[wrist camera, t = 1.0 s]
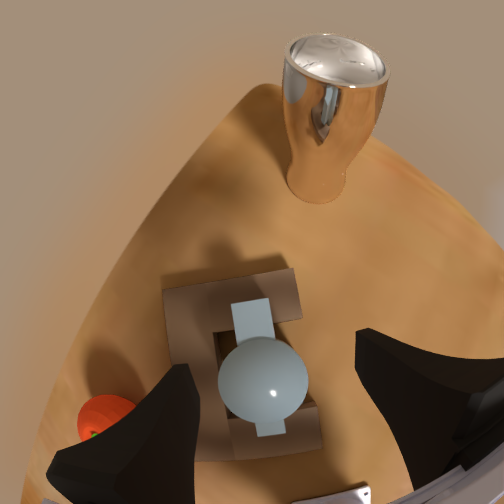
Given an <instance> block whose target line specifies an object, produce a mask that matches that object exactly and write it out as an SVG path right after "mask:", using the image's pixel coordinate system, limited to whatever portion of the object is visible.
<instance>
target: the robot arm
mask: <svg viewBox="0 0 504 504" xmlns="http://www.w3.org/2000/svg"><path fill="white" fill-rule="evenodd" d="M355 370H356V372H357V374H358V376H359V378H360V381H361V383H362V385H363V386H364V388H365V389H366V391H367V392H368V394H369V396H370V397H371V399H372V400H373V402H374V403H375V405H376V406H377V408H378V409H379V411H380V412H381V414H382V415H383V417H384V418H385V420H386V421H387V423H388V425H389V427H390V429H391V431H392V433H393V435H394V437H395V440H396V442H397V444H398V446H399V449H400V451H401V454H402V456H403V459H404V461H405V464H406V467H407V470H408V472H409V476H410V479H411V482H412V486H413V489H414V492H412V493H410V494H408V495H406V496H404V497H401V498H399V499H397V500H395V501H393V502H390V503H388V504H494V503H495V502H496V501H497V500H498V499H499V498H500V497H501V496H503V495H504V358H497V359H465V358H457V357H450V356H445V355H440V354H436V353H432V352H428V351H425V350H422V349H419V348H416V347H413V346H411V345H408V344H405V343H403V342H401V341H398V340H396V339H394V338H391V337H389V336H387V335H385V334H382V333H380V332H378V331H375V330H373V329H370V328H366V329H362V330H359V331H356V344H355ZM199 423H200V396H199V393H198V390H197V388H196V385H195V382H194V379H193V376H192V374H191V371H190V368H189V365H188V363H184V364H174V365H173V366H172V367H171V369H170V370H169V371H168V372H167V373H166V375H165V376H164V377H163V378H162V379H161V380H160V382H159V383H158V384H157V385H156V386H155V387H154V388H153V390H152V391H151V392H150V393H149V394H148V395H147V396H146V397H145V398H144V399H143V400H142V401H141V402H140V403H139V404H138V405H137V406H136V407H135V408H134V409H133V410H132V411H130V412H129V413H128V414H127V415H126V416H124V417H123V418H122V419H121V420H119V421H118V422H116V423H115V424H113V425H112V426H110V427H109V428H107V429H106V430H104V431H103V432H101V433H99V434H97V435H95V436H94V437H92V438H90V439H88V440H85V441H83V442H81V443H79V444H76V445H74V446H71V447H68V448H65V449H62V450H59V451H57V452H56V454H55V456H54V458H53V460H52V462H51V464H50V466H49V468H48V470H47V472H46V477H47V479H48V481H49V482H50V484H51V485H52V486H53V487H54V488H55V489H56V490H58V491H59V492H60V493H61V494H62V495H63V496H64V497H66V498H67V499H68V500H69V501H70V502H72V503H73V504H195V492H194V460H195V452H196V444H197V437H198V430H199ZM365 492H367V493H366V494H364V493H365ZM42 504H58V503H56V502H53V501H51V500H48V499H46V498H44V499H43V501H42ZM291 504H371V489H370V487H369V486H363V487H359V488H356V489H352V490H349V491H345V492H341V493H337V494H333V495H329V496H324V497H319V498H314V499H309V500H303V501H297V502H292V503H291Z"/></svg>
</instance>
